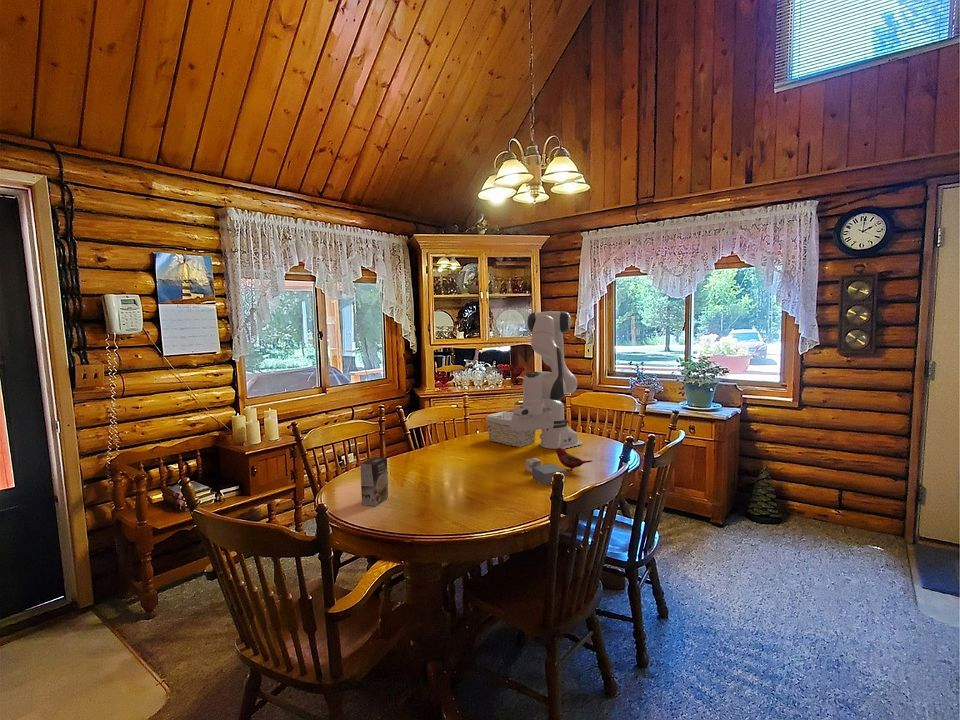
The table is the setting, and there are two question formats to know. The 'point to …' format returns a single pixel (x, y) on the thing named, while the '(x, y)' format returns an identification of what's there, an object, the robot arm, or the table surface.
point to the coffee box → (374, 481)
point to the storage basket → (506, 430)
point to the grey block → (545, 473)
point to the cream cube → (532, 463)
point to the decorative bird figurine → (569, 459)
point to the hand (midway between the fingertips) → (532, 439)
